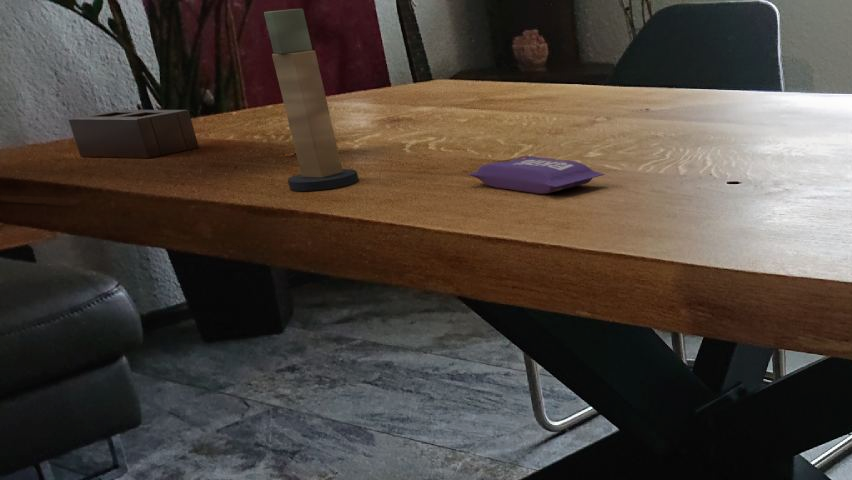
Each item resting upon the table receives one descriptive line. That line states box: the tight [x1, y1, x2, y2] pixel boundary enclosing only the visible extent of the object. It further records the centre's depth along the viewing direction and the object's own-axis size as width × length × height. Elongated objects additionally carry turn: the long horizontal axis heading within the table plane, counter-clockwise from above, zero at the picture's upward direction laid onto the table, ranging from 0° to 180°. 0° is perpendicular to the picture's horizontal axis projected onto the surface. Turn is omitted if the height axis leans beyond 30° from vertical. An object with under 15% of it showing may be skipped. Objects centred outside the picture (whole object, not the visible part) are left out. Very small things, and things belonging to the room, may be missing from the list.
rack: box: [67, 109, 200, 159], centre depth 118 cm, size 6×11×4 cm, turn 67°
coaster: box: [287, 168, 359, 192], centre depth 94 cm, size 6×6×1 cm
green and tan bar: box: [263, 8, 343, 178], centre depth 91 cm, size 3×2×13 cm
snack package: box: [467, 155, 606, 195], centre depth 87 cm, size 12×2×5 cm
